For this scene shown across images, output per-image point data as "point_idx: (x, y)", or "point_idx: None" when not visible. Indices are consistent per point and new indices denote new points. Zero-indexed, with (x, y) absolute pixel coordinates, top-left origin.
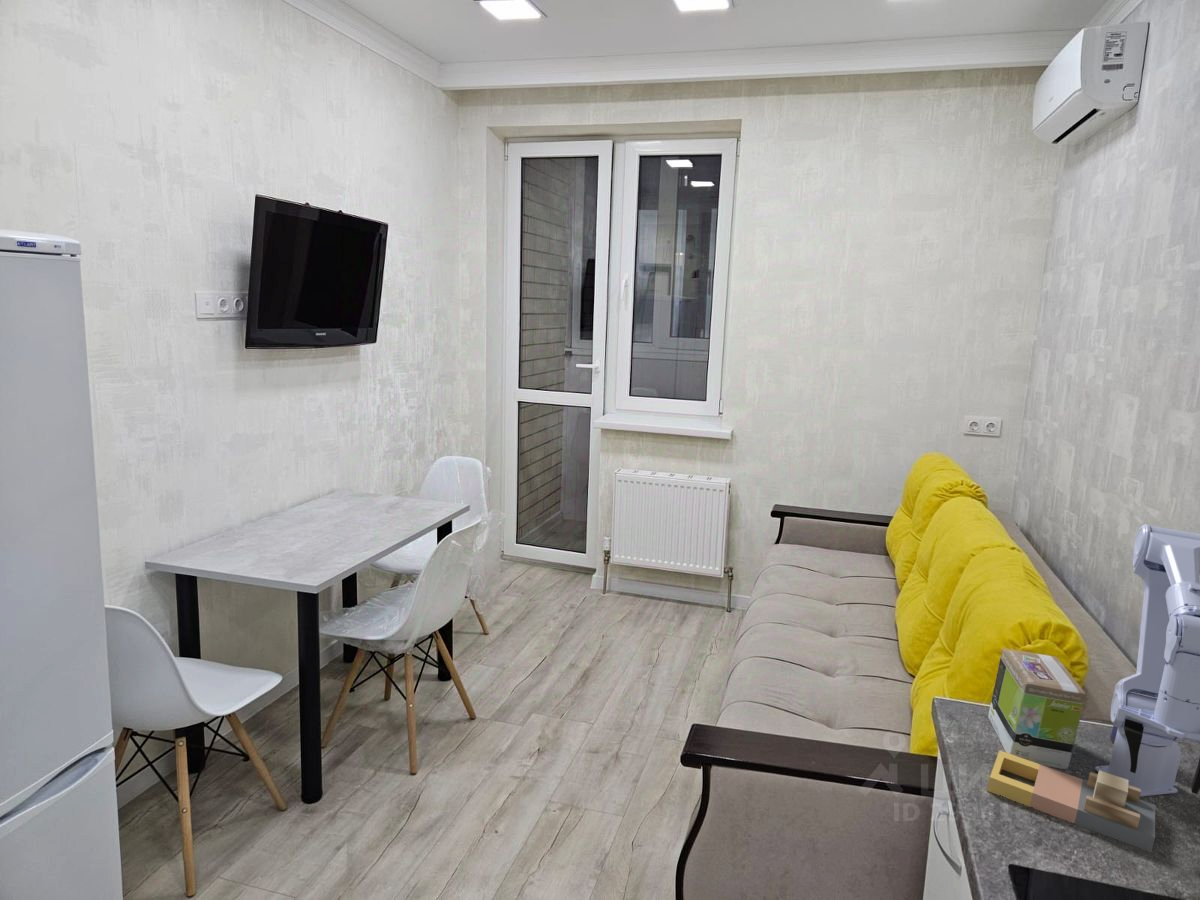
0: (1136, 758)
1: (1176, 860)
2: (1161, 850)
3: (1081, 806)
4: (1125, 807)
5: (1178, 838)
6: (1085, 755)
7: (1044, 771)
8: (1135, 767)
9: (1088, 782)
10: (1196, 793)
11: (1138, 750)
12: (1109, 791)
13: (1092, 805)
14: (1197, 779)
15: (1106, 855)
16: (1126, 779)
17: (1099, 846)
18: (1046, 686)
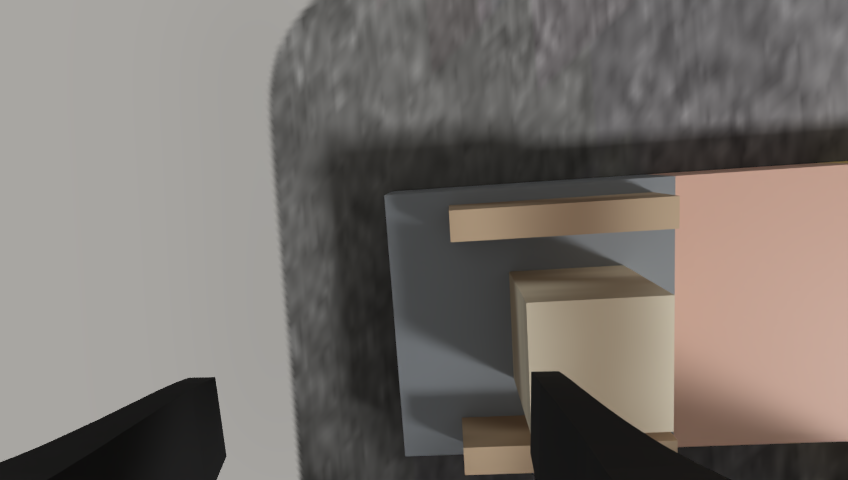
0: (576, 414)
1: (317, 209)
2: (364, 236)
3: None
4: (502, 347)
5: (324, 360)
6: None
7: (828, 393)
8: (548, 384)
9: None
10: (188, 379)
11: (602, 457)
12: (599, 290)
13: (637, 195)
14: (134, 417)
15: (524, 44)
16: None
17: (551, 87)
18: None
